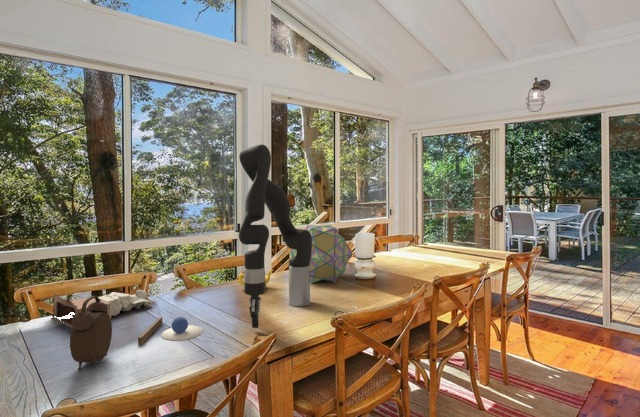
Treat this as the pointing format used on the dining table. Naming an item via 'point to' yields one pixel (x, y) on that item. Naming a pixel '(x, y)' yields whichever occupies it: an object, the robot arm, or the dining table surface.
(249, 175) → the robot arm
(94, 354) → the alarm clock
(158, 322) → the strip
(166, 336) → the disc
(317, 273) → the sculpture
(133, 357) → the dining table surface
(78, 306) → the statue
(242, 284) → the teapot
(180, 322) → the ball
